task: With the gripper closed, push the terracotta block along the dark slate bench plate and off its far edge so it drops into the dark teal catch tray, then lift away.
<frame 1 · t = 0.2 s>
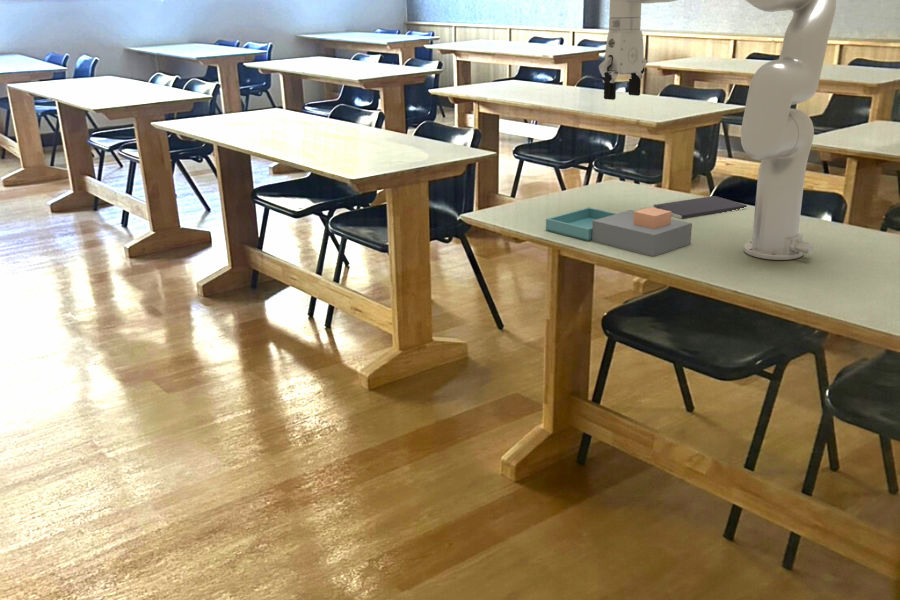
hand: (622, 97, 216), 31 cm above the table, fingers open, 9 cm apart
catch tray: (588, 229, 217), on the table
slate bench plate: (640, 242, 205), on the table
notebook: (698, 211, 233), on the table
terracotta block: (652, 224, 201), point 5 cm above the table, touching slate bench plate
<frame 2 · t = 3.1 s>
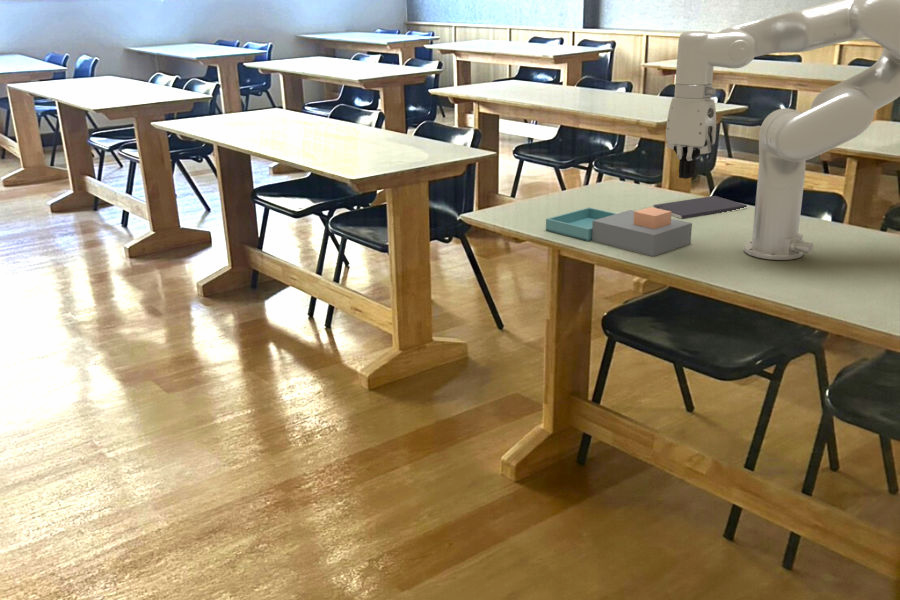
hand: (686, 177, 190), 17 cm above the table, fingers closed
nothing on the table moved.
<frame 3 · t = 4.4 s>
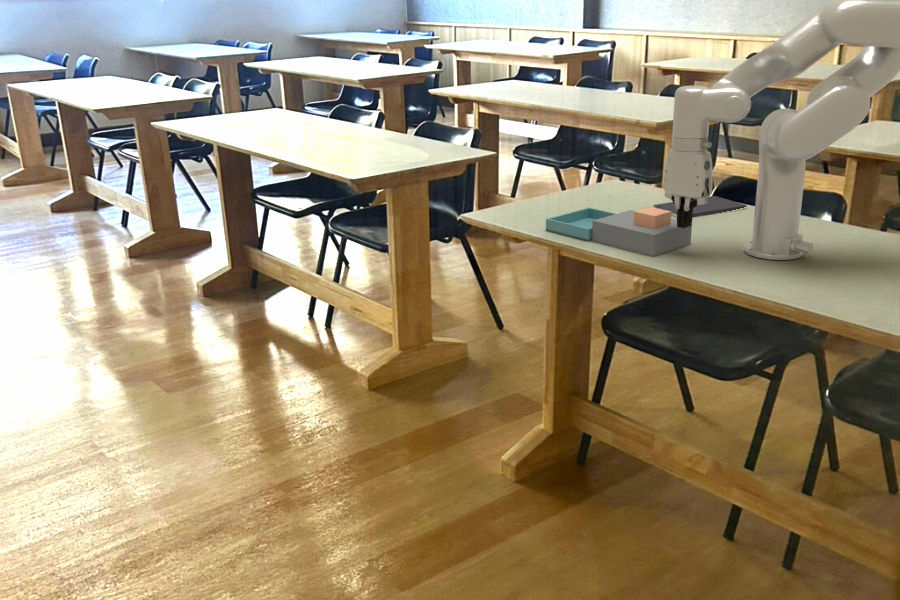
hand: (684, 226, 194), 6 cm above the table, fingers closed
nothing on the table moved.
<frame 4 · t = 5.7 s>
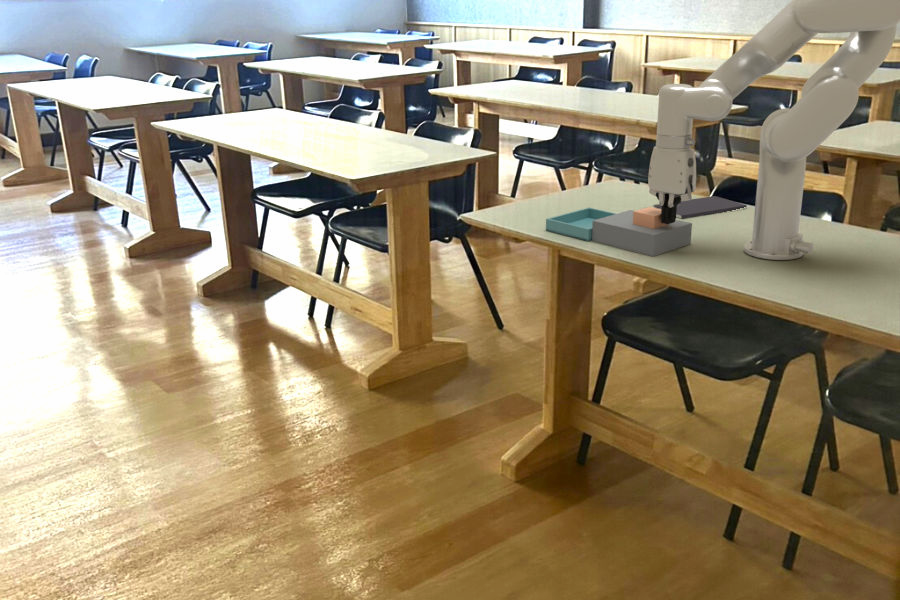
hand: (668, 222, 197), 6 cm above the table, fingers closed
terracotta block: (651, 223, 201), point 5 cm above the table, touching gripper
everything else where it was.
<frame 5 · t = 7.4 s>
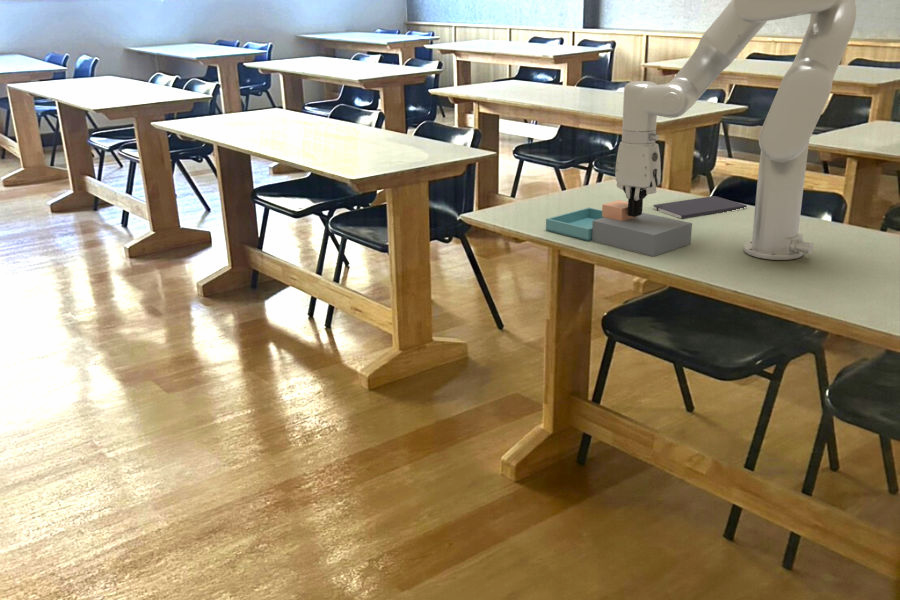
hand: (634, 215, 204), 6 cm above the table, fingers closed
terracotta block: (619, 216, 208), point 5 cm above the table, touching gripper, slate bench plate
everything else where it was.
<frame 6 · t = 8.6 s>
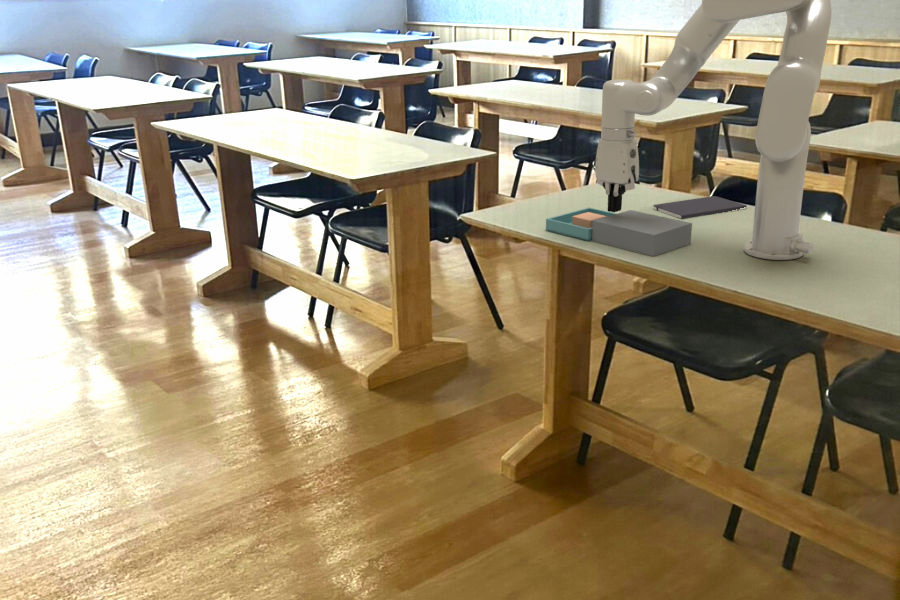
hand: (614, 210, 208), 6 cm above the table, fingers closed
terracotta block: (589, 216, 215), point 3 cm above the table, tilted 180°, touching catch tray
everything else where it was.
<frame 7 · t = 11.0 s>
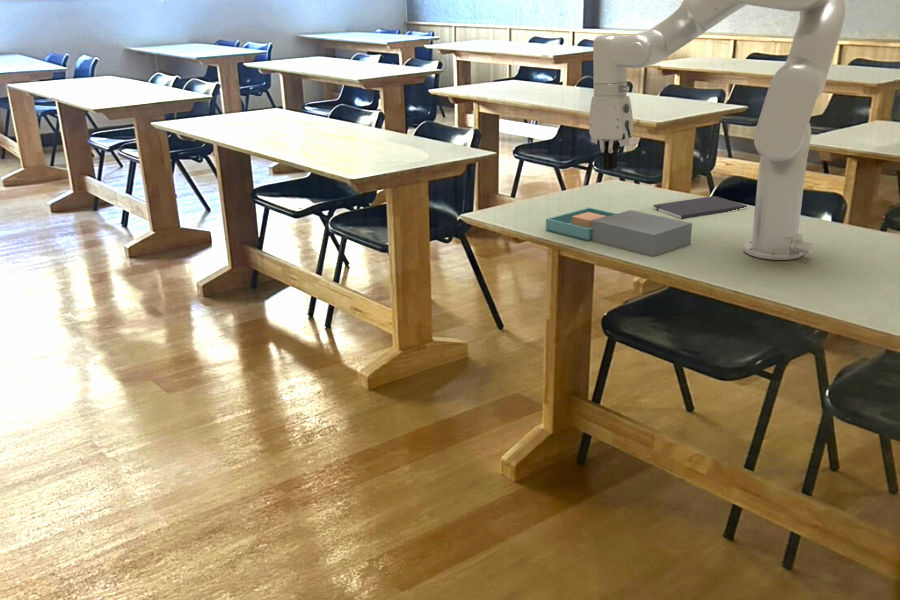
hand: (609, 168, 207), 16 cm above the table, fingers closed
nothing on the table moved.
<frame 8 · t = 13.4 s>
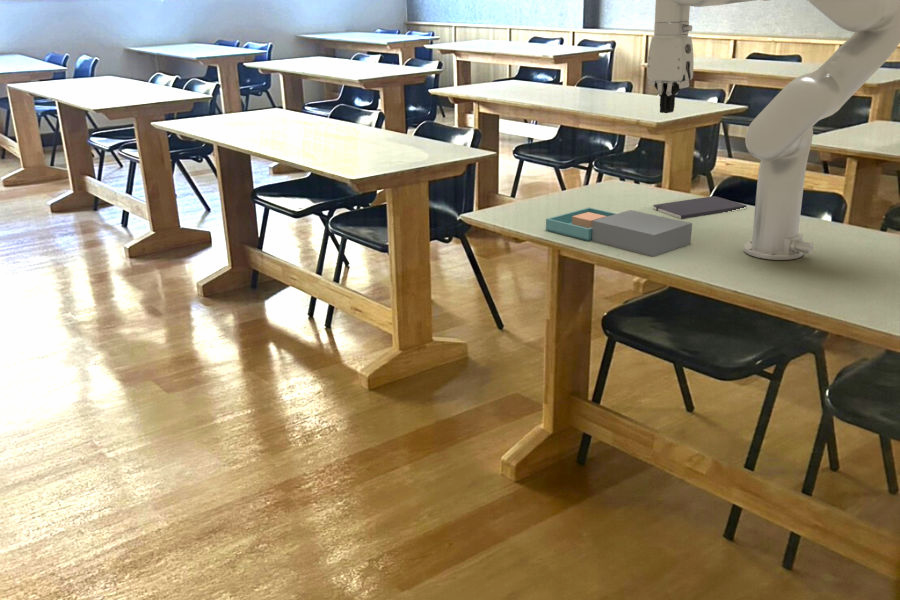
hand: (666, 112, 202), 29 cm above the table, fingers closed
nothing on the table moved.
at the end: terracotta block inside the target area (0.3 cm from its centre), point 3.5 cm above the table; terracotta block moved 19.1 cm from its start; the gripper is holding nothing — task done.
